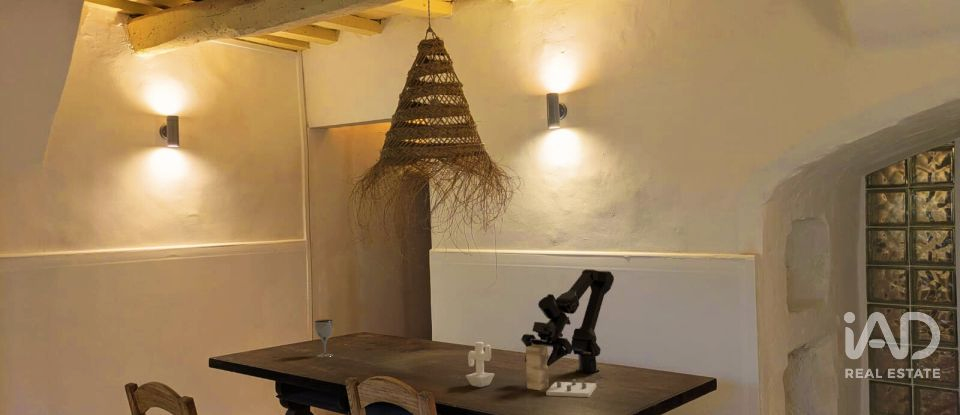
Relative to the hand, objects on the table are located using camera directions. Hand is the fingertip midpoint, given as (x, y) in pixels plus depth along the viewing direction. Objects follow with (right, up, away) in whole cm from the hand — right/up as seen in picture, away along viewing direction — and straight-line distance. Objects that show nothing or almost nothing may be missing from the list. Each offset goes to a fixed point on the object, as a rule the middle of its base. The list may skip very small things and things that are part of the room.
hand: (536, 363), depth 272 cm
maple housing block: (+1, -8, 0) cm, 8 cm away
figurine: (-19, -9, +7) cm, 22 cm away
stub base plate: (+11, -8, -6) cm, 15 cm away
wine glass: (-85, -11, +71) cm, 112 cm away
